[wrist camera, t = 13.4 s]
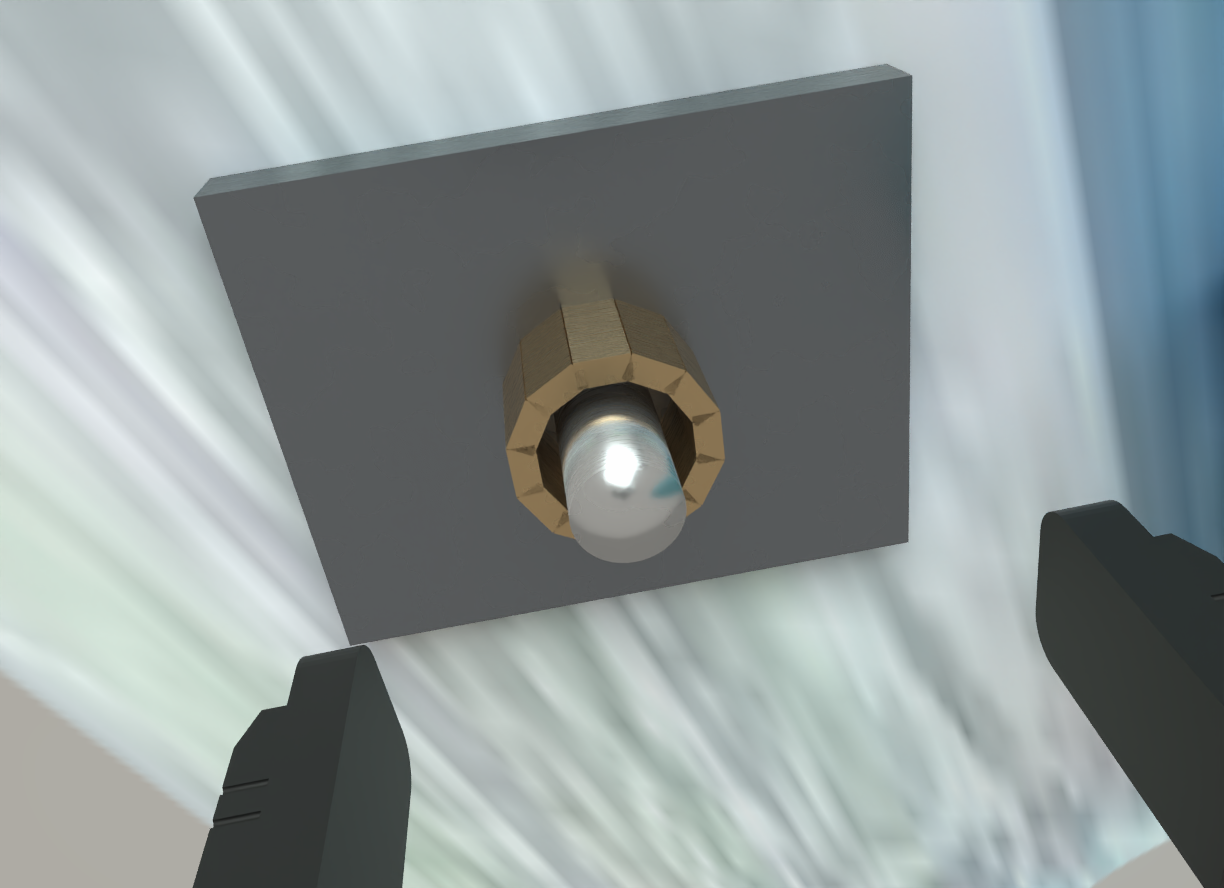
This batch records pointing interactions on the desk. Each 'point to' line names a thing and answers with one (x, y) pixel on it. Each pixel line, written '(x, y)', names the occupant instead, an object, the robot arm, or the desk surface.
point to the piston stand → (572, 275)
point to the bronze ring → (595, 356)
